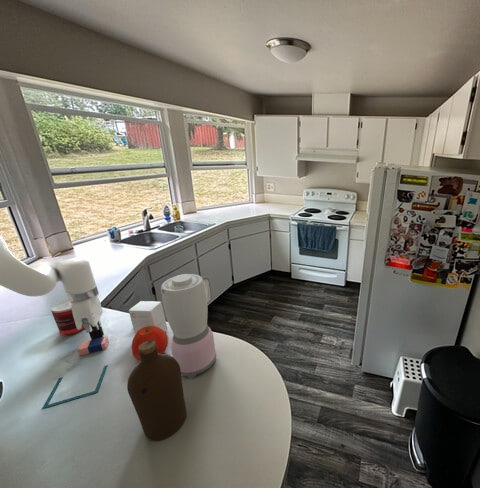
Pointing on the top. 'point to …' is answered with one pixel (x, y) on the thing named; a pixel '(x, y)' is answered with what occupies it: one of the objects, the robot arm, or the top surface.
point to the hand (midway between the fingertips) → (97, 337)
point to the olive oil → (157, 393)
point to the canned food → (65, 318)
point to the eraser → (93, 345)
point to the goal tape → (72, 397)
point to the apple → (149, 339)
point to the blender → (189, 322)
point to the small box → (147, 315)
